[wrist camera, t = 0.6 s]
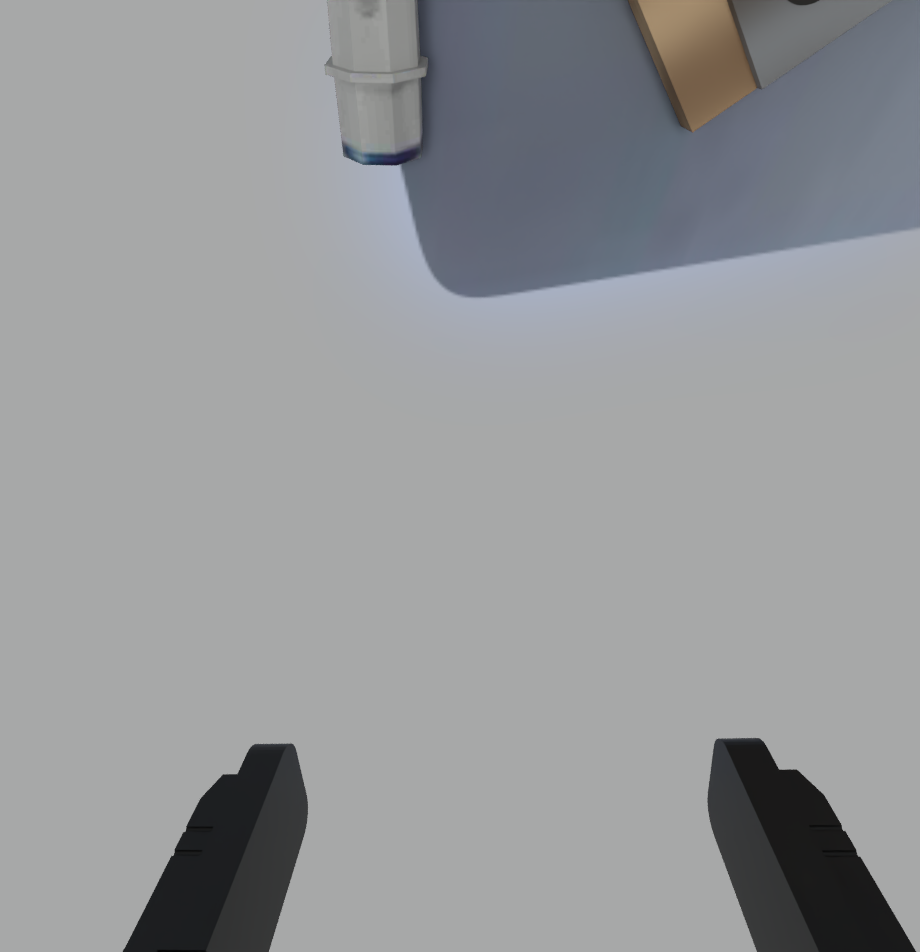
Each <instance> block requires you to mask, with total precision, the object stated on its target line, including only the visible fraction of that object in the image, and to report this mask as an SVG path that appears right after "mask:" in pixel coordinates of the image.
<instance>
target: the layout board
mask: <svg viewBox="0 0 920 952" xmlns="http://www.w3.org/2000/svg"><path fill="white" fill-rule="evenodd" d="M890 1H892V0H628V2H629V4H630V7H631V9H632V11H633V14H634V16H635V19H636V21H637V23H638V26H639V28H640V30H641V33H642V35H643V37H644V40H645V42H646V45H647V47H648V49H649V52H650V54H651V56H652V59H653V61H654V63H655V66H656V68H657V71H658V73H659V75H660V78H661V80H662V82H663V85H664V87H665V89H666V92H667V94H668V97H669V99H670V101H671V104H672V106H673V108H674V111H675V113H676V115H677V118H678V120H679V123H680V125H681V126H682V127H684V128H686V129H687V130H689V131H691V132H694V131H695V130H697V129H698V128H700V127H701V126H703V125H704V124H705V123H707V122H708V121H710V120H711V119H713V118H714V117H716V116H717V115H719V114H720V113H721V112H723V111H724V110H726V109H727V108H729V107H730V106H732V105H733V104H735V103H736V102H737V101H739V100H740V99H742V98H743V97H745V96H746V95H748V94H749V93H751V92H752V91H753V90H755V89H756V88H759V89H763V88H765V87H766V86H768V85H769V84H771V83H772V82H774V81H775V80H777V79H778V78H779V77H781V76H782V75H784V74H785V73H787V72H788V71H790V70H791V69H793V68H794V67H796V66H797V65H798V64H800V63H801V62H803V61H804V60H806V59H807V58H809V57H810V56H812V55H813V54H815V53H816V52H817V51H819V50H820V49H822V48H823V47H825V46H826V45H828V44H829V43H831V42H832V41H834V40H835V39H836V38H838V37H839V36H841V35H842V34H844V33H845V32H847V31H848V30H850V29H851V28H852V27H854V26H855V25H857V24H858V23H860V22H861V21H863V20H864V19H866V18H867V17H869V16H870V15H871V14H873V13H874V12H876V11H877V10H879V9H880V8H882V7H883V6H885V5H886V4H888V3H889V2H890Z"/></svg>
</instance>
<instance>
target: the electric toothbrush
mask: <svg viewBox="0 0 920 952" xmlns="http://www.w3.org/2000/svg"><path fill="white" fill-rule="evenodd" d="M327 4H328V16H329V26H330V39H331V50H332V56H331V57H330V59H329V60H328V61H327V63H326V64H325V73H326V75H329V76H332V77H334V79H335V87H336V96H337V104H338V113H339V122H340V130H341V138H342V146H343V155H344V157H347V158H349V159H351V160H354V161H356V162H358V163H360V164H363V165H399V164H402V163H406V162H409V161H412V160H415V159H419V158H421V155H422V150H423V130H422V96H421V77H425V76H426V73H427V69H428V58H427V57H423V56H420V41H419V22H418V2H417V0H327Z"/></svg>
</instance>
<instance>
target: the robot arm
mask: <svg viewBox="0 0 920 952" xmlns="http://www.w3.org/2000/svg"><path fill="white" fill-rule="evenodd" d="M708 811H709V817H710V822H711V826H712V830H713V833H714V836H715V839H716V842H717V844H718V847H719V850H720V853H721V855H722V858H723V860H724V863H725V866H726V869H727V871H728V874H729V877H730V879H731V882H732V885H733V888H734V890H735V893H736V896H737V899H738V901H739V904H740V907H741V909H742V912H743V915H744V917H745V920H746V923H747V925H748V928H749V931H750V934H751V936H752V939H753V942H754V945H755V947H756V950H757V952H916V951H915V949H914V948H913V946H912V944H911V942H910V940H909V939H908V937H907V936H906V934H905V932H904V930H903V929H902V927H901V925H900V923H899V922H898V920H897V919H896V917H895V915H894V913H893V912H892V910H891V908H890V907H889V905H888V903H887V901H886V900H885V898H884V896H883V895H882V893H881V891H880V890H879V888H878V886H877V885H876V883H875V881H874V879H873V878H872V876H871V875H870V872H869V871H868V869H867V867H866V866H865V864H864V862H863V861H862V859H861V857H858V855H857V852H856V849H855V847H854V846H853V844H852V842H851V840H850V838H849V837H848V835H847V833H846V832H845V831H843V830H842V825H841V823H840V822H839V820H838V818H837V817H836V815H835V813H834V811H833V810H832V808H831V806H830V804H829V803H828V801H827V799H826V798H825V796H824V795H823V794H822V793H821V792H820V791H819V790H818V789H817V788H816V787H815V786H814V785H813V784H812V783H811V782H809V781H808V780H807V779H806V778H805V777H804V776H803V775H802V774H801V773H800V772H799V771H798V770H779V769H778V767H777V765H776V763H775V761H774V759H773V758H772V756H771V754H770V752H769V750H768V748H767V747H766V745H765V743H764V742H763V741H762V740H761V739H759V738H738V739H737V738H736V739H717V740H716V741H715V744H714V750H713V758H712V767H711V774H710V781H709V789H708ZM307 815H308V802H307V795H306V791H305V787H304V782H303V778H302V774H301V770H300V765H299V761H298V756H297V752H296V749H295V746H294V745H293V744H255V745H253V746H252V747H251V748H250V749H249V751H248V753H247V755H246V757H245V759H244V761H243V763H242V766H241V768H240V770H239V772H238V774H229V775H222V776H221V778H219V779H218V781H217V782H216V783H215V784H214V785H213V786H212V787H211V788H210V789H209V790H208V791H207V792H206V793H205V795H203V797H202V798H201V799H200V801H199V803H198V805H197V807H196V809H195V811H194V813H193V814H192V816H191V819H190V820H189V822H188V824H187V826H186V827H187V828H186V832H184V833H183V834H182V837H181V838H180V840H179V842H178V844H177V846H176V848H175V853H174V856H171V858H170V860H169V862H168V864H167V866H166V868H165V870H164V872H163V874H162V876H161V878H160V880H159V882H158V884H157V886H156V888H155V890H154V892H153V894H152V896H151V898H150V900H149V902H148V904H147V906H146V908H145V910H144V912H143V914H142V916H141V918H140V919H139V921H138V924H137V925H136V927H135V929H134V931H133V933H132V935H131V937H130V939H129V941H128V943H127V945H126V947H125V949H124V950H123V952H269V949H270V945H271V942H272V939H273V936H274V932H275V929H276V926H277V923H278V919H279V916H280V912H281V909H282V906H283V903H284V900H285V896H286V893H287V890H288V886H289V883H290V880H291V877H292V873H293V870H294V867H295V863H296V860H297V857H298V854H299V850H300V847H301V844H302V840H303V837H304V833H305V829H306V824H307Z"/></svg>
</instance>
